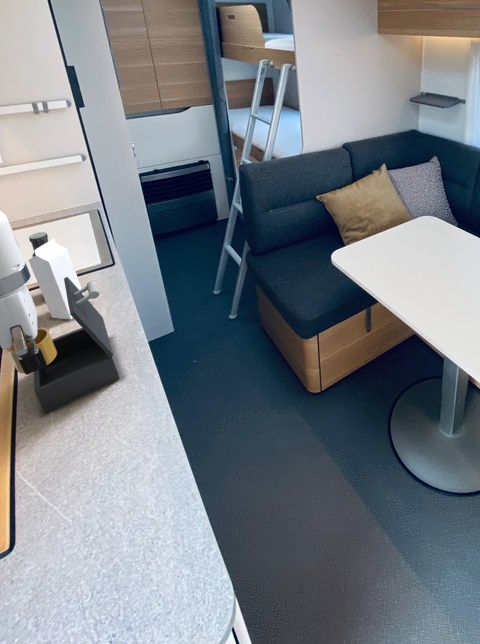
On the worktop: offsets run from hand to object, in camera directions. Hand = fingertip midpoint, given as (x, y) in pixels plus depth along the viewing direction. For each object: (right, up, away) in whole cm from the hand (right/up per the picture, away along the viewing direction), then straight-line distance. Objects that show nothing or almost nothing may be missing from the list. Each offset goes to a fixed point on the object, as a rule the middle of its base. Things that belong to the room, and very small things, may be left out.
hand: (36, 357), depth 77 cm
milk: (-22, -4, +38) cm, 44 cm away
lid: (-1, +2, +15) cm, 16 cm away
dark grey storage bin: (-5, -11, +18) cm, 22 cm away
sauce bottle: (-31, -1, +46) cm, 55 cm away
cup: (0, -1, 0) cm, 1 cm away
